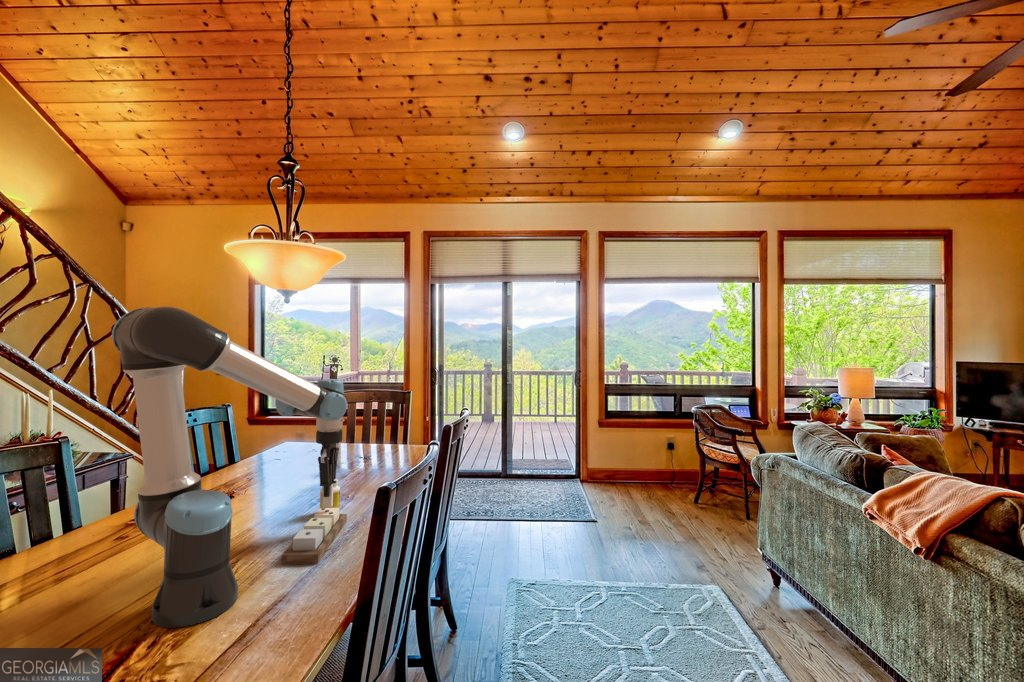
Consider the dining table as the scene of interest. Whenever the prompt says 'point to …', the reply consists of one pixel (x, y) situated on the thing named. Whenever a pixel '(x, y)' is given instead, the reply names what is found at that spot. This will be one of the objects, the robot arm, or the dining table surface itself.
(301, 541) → the tile one
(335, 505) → the pill bottle
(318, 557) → the tile tray
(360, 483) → the dining table surface
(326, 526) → the tile two
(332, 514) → the tile three
